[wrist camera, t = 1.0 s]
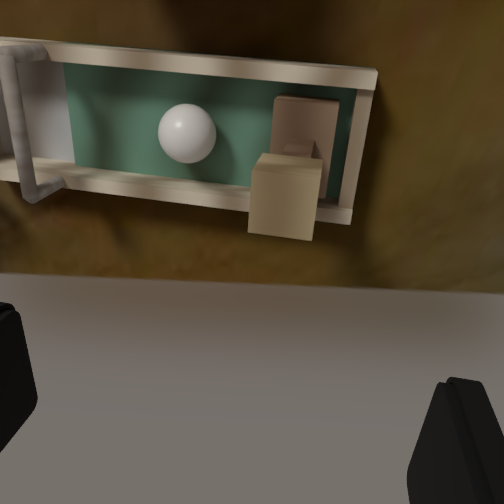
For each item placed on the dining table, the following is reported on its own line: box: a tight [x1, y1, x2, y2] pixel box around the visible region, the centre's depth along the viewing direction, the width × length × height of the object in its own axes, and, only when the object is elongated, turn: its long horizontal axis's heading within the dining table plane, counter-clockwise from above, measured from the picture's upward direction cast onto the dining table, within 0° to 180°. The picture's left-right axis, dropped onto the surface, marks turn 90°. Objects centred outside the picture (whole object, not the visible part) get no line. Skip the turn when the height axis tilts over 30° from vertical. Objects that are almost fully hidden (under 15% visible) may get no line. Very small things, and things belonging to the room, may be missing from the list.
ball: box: [158, 104, 216, 163], centre depth 31 cm, size 4×4×4 cm
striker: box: [248, 94, 339, 241], centre depth 26 cm, size 4×6×13 cm, turn 176°
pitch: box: [0, 36, 378, 225], centre depth 30 cm, size 30×10×8 cm, turn 86°
